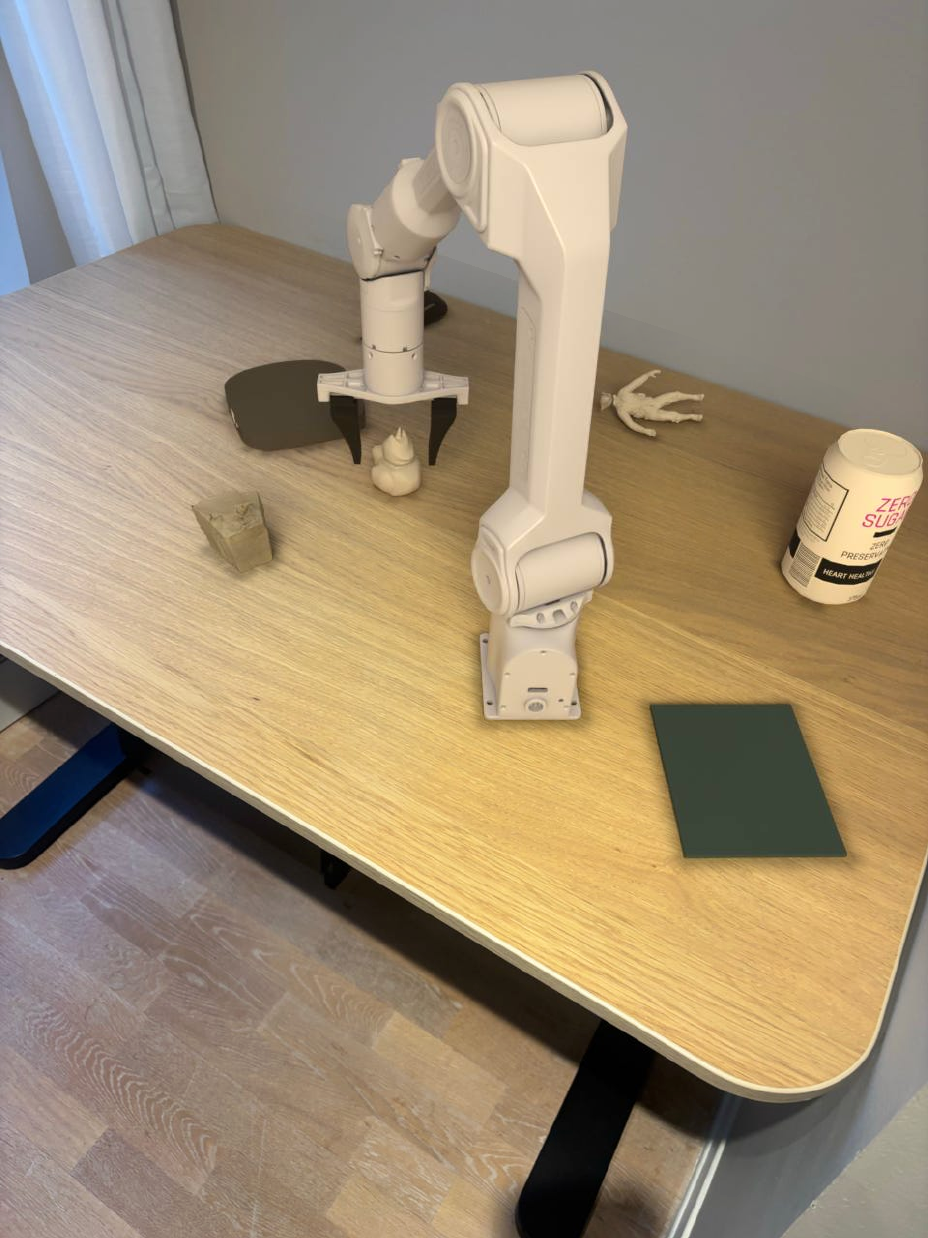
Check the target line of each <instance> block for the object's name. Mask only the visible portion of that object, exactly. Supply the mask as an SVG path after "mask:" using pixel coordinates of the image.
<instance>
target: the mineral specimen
mask: <svg viewBox="0 0 928 1238" xmlns="http://www.w3.org/2000/svg"><path fill="white" fill-rule="evenodd" d="M190 507H191V511H192V513H193V514H194V517H195V519H196V521H197V523H198V524H199V526H200V529H201V531H202V533H203V534H204V536H205V538H206V540H207V541H208V544H209V546H210V547H211V548H212V549H214V550H215V551H216V552H218V553H219V554H220V555H221V556H222V557H223V558H224V560H226V561H227V562H228V563H229V564H231V565H232V566H233V567H234V569H236V570H237V571H238V572H239V573H242V574H243V573H245V572H248V571H250V570H253V569H254V568H256V567H259V566H261V565H263V564H267V563H270V562H271V561H272V560H273V554H272V553H273V548H272V544H271V540H270V536H269V532H268V529H267V521H266V515H265V509H264V506H263V502H262V499H261V496H260V493H259V491H258V490H248V491H244V492H243V493H240V492H238V491H237V490H235V489H233V490H229V491H225V492H223V493H221V494H217V495H215V496H212V497H209V498H206V499H204V500H200V501H198V503H196V504H193V505H190Z"/></svg>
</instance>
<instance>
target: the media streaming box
mask: <svg viewBox="0 0 928 1238" xmlns="http://www.w3.org/2000/svg"><path fill="white" fill-rule="evenodd" d="M346 371H347V369H346V368H345V367H344V366H342V365H340V364H338V363H334V362H332V361H327V360H323V359H322V360H320V359H294V360H293V359H292V360H284V361H276V362H271V363H266V364H261V365H258V366H254V367H251V368H246V369H244V370H242V371H240V372H237V373H236V374H234V375H233V376H231V377H230V378H229V379H227V380H226V382H225V383H224V386H223V387H224V393H225V399H226V403H227V407H228V411H229V414H230V417H231V419H232V422H233V426H234V427H235V430H236V433H237V434H238V436H239V438H240V440H241V442H242V443H243V444H245V445H246V446H247V447H251V448H253V449H256V450H260V451H277V450H283V449H284V450H285V449H290V448H295V447H302V446H308V445H313V444H318V443H324V442H329V441H334V440H338V439H343V438H344V436H343V434H342V433H341V431H340V429H339V428H338V427H337V425H336V424H335V423H334V422H333V420H332V418H331V416H330V401H328V402H319V401H318V389H317V382H318V376H319V374H330V373H339V372H346ZM365 408H366V406H365V402H364V399H358V421H359V430H360V431H361V430H362V429H363V428H364V426H365V424H366V409H365ZM344 439H345V438H344Z"/></svg>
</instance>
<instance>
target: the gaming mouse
mask: <svg viewBox="0 0 928 1238" xmlns="http://www.w3.org/2000/svg"><path fill="white" fill-rule="evenodd" d="M447 312H448V304H447V303H446V301H445V300H444V299H443V298H441V297H440V295H438V294H437V293H435V292H433V291H430V290H429V289H428V290H426V291H425V292H424V327H425V326H427V325H430V324H433V323H435V322H437V321H439V320H440V319H441V318H443V317H444V316H445V315H446V314H447ZM360 340H361V341H362V336H361V337H360Z"/></svg>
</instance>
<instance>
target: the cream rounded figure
mask: <svg viewBox="0 0 928 1238" xmlns="http://www.w3.org/2000/svg"><path fill="white" fill-rule="evenodd" d="M371 450H372V451H371V453H372V457H373V460H374V466H373V467H372V469H371V481H372V483H373V485H375V487H376V488H378V489H379V490H381V491H382V492H384V493H387V494H388V495H390V496H392V497H403V496H407V495H409V494H411V493H413V492H415V491H416V490H418V489H419V488H420V486H421V480H422V475H423V467H422V463H421V460H420V458H419V457H418V456H416V455H415V448H414V444H413V441H412V439H411V438H410V437H409V436H408V434H407V432H406V430H405V429H402V427H401V426H399V428H398V429H397V431H396V432H395V433H394V434H392V433H390V435H389V436H387V437H386V438H385V439H384V440H383V442H382V443H379V444H377V445H375V446H373V447H372V449H371Z"/></svg>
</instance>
